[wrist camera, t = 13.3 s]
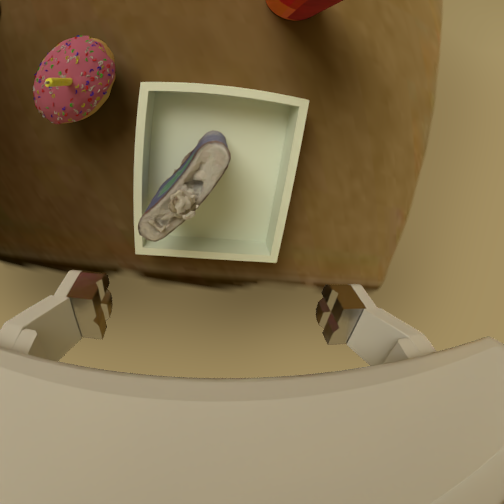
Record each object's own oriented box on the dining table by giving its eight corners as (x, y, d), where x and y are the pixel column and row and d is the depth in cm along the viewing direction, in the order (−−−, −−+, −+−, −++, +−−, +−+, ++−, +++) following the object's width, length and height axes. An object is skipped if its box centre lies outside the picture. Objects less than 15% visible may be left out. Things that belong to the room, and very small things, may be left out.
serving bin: (143, 236, 30) (135, 253, 27) (150, 84, 22) (140, 82, 19) (269, 244, 33) (276, 262, 30) (296, 100, 25) (309, 100, 22)
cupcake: (143, 55, 21) (99, 27, 10) (108, 130, 24) (49, 152, 14) (77, 38, 18) (13, 17, 7) (47, 109, 21) (-24, 124, 11)
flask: (212, 124, 24) (212, 137, 15) (234, 144, 26) (248, 168, 17) (152, 194, 27) (124, 244, 18) (173, 211, 28) (157, 267, 19)
